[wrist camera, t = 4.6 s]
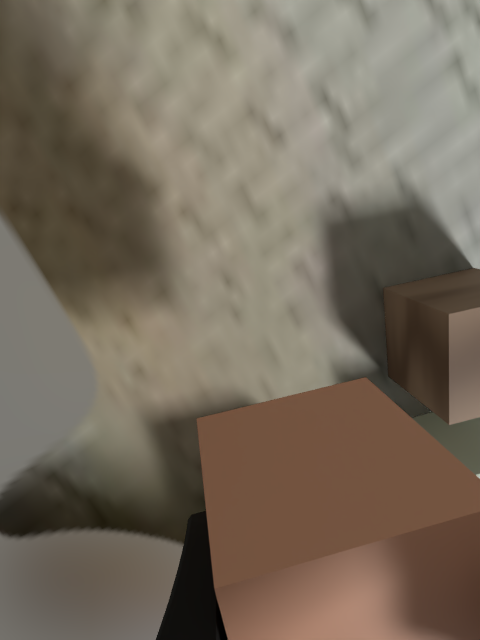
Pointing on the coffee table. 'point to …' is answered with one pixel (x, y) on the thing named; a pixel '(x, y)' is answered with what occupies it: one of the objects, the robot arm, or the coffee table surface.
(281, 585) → the terracotta block
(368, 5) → the coffee table surface
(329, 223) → the coffee table surface
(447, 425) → the sage block
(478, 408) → the walnut block
